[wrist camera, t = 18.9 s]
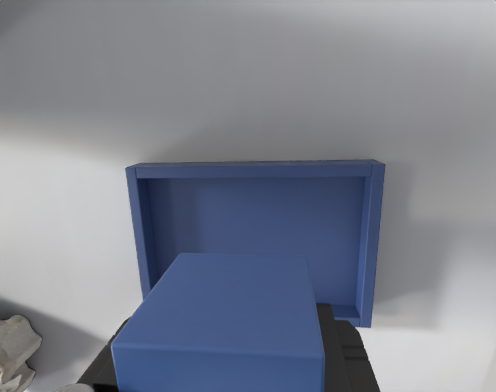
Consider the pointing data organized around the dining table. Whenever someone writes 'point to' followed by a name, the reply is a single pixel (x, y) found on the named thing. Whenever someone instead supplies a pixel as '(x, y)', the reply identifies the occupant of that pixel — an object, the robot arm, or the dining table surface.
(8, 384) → the egg carton
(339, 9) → the dining table surface
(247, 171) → the blue tray
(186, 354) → the blue block
